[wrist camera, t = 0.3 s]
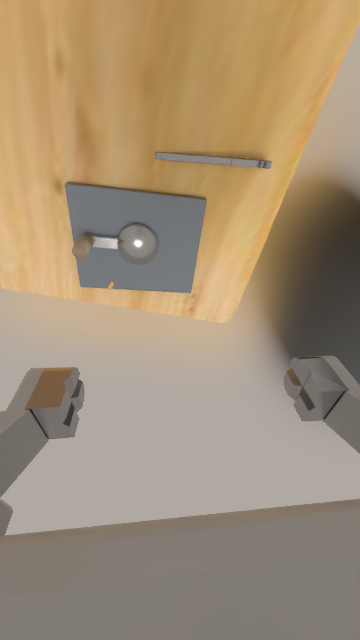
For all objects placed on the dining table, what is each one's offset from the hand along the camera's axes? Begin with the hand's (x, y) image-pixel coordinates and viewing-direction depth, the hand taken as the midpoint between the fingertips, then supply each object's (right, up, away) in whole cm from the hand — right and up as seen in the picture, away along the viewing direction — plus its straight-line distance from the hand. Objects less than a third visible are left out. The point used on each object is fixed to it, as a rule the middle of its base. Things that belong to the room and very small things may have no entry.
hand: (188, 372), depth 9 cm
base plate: (-9, +19, +43) cm, 48 cm away
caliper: (+5, +32, +35) cm, 48 cm away
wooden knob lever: (-13, +18, +40) cm, 46 cm away
